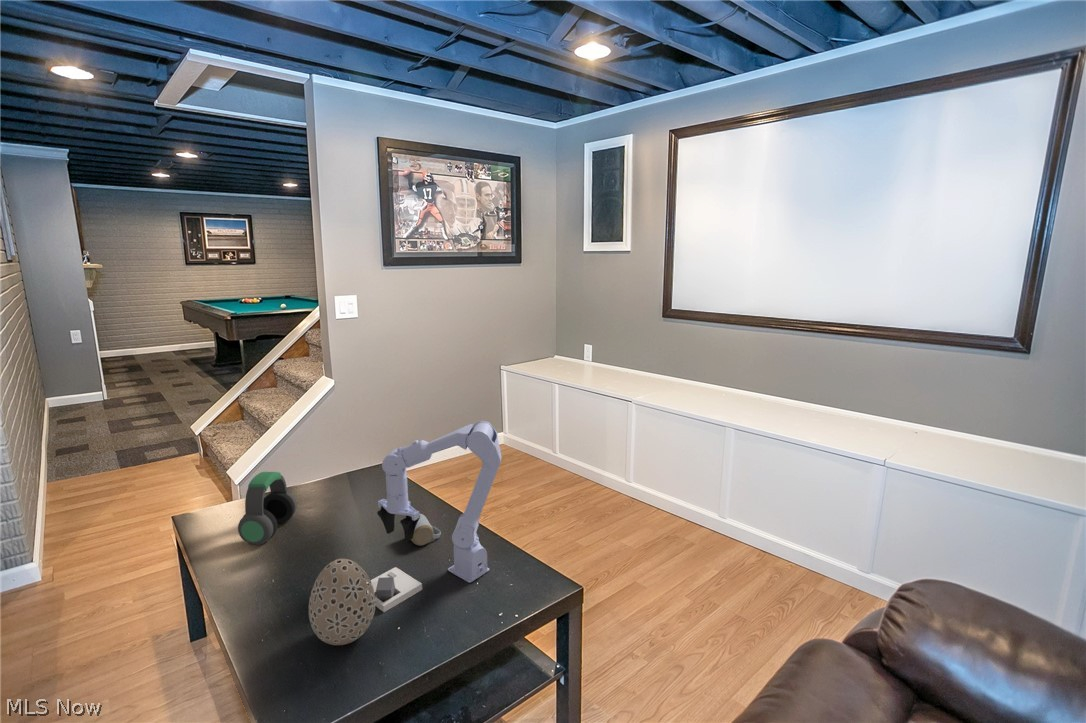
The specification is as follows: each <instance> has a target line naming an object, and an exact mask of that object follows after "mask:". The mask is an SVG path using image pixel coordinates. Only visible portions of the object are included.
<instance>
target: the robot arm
mask: <svg viewBox="0 0 1086 723" xmlns="http://www.w3.org/2000/svg"><path fill="white" fill-rule="evenodd" d="M498 436H499V435H498V432H497V430H496V429H495V427H494V426H493V425H492V424H491V423H490V422H489V421H485V420H480V421H477V422H476V423H470V424H467V425H465V426H462V427H460V428H458V429H456V430H453V431H451V432H449V433H447V434H445V435H442V436H440V437H438V438H435V439H433V440H430V441H426V440H424V439H422V440H418V439H415V440H413V441H412V443H411V444H408V445H406V446H403V447H402V446H399V447H397V448H394V449H391V451H389V453H387V455H386V456H385V457H384V459H383V460H382V463H381V467H382V470H383V472H385V486H386V499H385V498H382V499H379V500H378V501H377V507H378V508H379V510H378V511H377V515H378V517H379V519H380V520H381V521H382V524H383V526H384V529H385V532H386V534H388V535H389V534H391V533H393V532H395V517H396V515H400V516H405V517H404V518H402V519H401V520H400V521H399V522H400V524H401V526H402V529H403V534H404V539H405V540H404V541H405V542H410V541H411V539H413V534H414V530H415V527H416V524H417V522H418V520H419V519H420V515H419V514H420V511H419V510H416V509H415V508H414V507H413V506H412V505H411V501H410V500H409V490H408V489H409V488H408V476H407V475H408V474H407V469H408V468H410V467H414V466H416V465H420V464H422V463H425V462H427V461H429V460H430V459H431V458H432V456H433V454H435V453H440V452H441V451H442V452H443V451H445V450H448V449H450V448H455V447H460V448H462V449H464V450H467V448H468V450H470V452H471V453H473V454H474V455H476V456H477V457H478V458H479V459H480V461H481V462H482V465H481V468H480V471H479V473H478V476H477V477H476V478H477V479H476V481H475V483H474V486H473V489H472V492H471V495H470V497H469V500H468V501H467V505H466V506H465V507H466V508H465V510H464V512H463V513H462V514H461V515H460V516H459V517H458V518H457V522H456V525H455V528H454V531H453V532H452V535H451V541H452V543H453V565H452V566H450V567H447V571H448V572H450V573H452V574H453V575H455V576H457V577H458V578H460V579H462V580H463V581H465V582H467V583H469V584H470V583H472V582H474V581H475V580H476V579H477V580H478V578H480V577H481V576H483V575H485V574H486V573H488V572H489V571H490V568H489V567H488V551H487V550H486V548H484V547H483V545H481V543H480V540H479V535H478V533H477V531H478V528H479V526H480V520H479V519H480V516H481V514H482V511H483V509H484V507H485V503H486V501H487V498H488V496H489V493H490V491H491V488H492V485H493V484H494V480H495V479H496V476H497V474H498V470H499V468H500V465H501V464H502V463H501V462H502V459H503V458H502V452H501V448H500V443H499V437H498Z"/></svg>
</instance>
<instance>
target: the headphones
mask: <svg viewBox="0 0 1086 723" xmlns="http://www.w3.org/2000/svg"><path fill="white" fill-rule="evenodd" d="M247 487H248V488H247V490H246V494H245V498H244V499H245V501H244V505H245V507H244V509H245V510H244V512H245V513H244V515H243V516H242V517H241V519H240V520H239V522H238V524H237V531H238V534H239V537H240V538H241V539H242V540H243V542H245V543H248V544H250V545H256V546H257V545H261V544H264V543H265V542H267V541H269V540H271V538H273V537H274V536H275V534H276V532H277V531H278V525H279V524H284V523H286V522H288V521H290V520H291V519H292V517H293V516H294V514H295V513H296V510H297V508H298V506H297V505H298V504H297V503H298V502H297V500H296V499H295V497H294V495H293V494H291V493H290V492H289V491H288V487H287V483H286V480H285V477H284V476H283V475H282V473H281V472H280V471H261V472H259V473H257V474H256V475H255V476H254V477H253V478H252V479H251V480H250V482H249V483H248V486H247ZM268 488H269V489H270V490H269V491H270V493H269V494H267V495H266V492H267V490H268Z"/></svg>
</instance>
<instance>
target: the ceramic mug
mask: <svg viewBox="0 0 1086 723" xmlns="http://www.w3.org/2000/svg"><path fill="white" fill-rule="evenodd" d="M419 515H420V519H419V520H418V522H417V524H416V527H415V530H414V534H413V539H411V540H410V541H411V542H412V543H413V544H415V545H416V546H418V547H419V546H420V547H421V546H425V545H427V544H429V542H431V541H432V539H434V540H436V539H438V540H439V538H441V535H442V532H441V530H440V529H439V528H437V527H436V526H433V525H431V523H430V521H429V520H428V518H427V517H426V515H424V514H422V513H419Z"/></svg>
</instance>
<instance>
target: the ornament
mask: <svg viewBox="0 0 1086 723" xmlns="http://www.w3.org/2000/svg"><path fill="white" fill-rule="evenodd" d="M370 580H371V579H370V577H369V575H368V574H367V572H366V571H365V569H364V568H363V567H362V566H360V564H359V563H357V562H356V561H355V560H354V561H353V560H351V559H348V558H337V559H334V560H332V561H331V562H329V563H328V564H327V565H325V567H324V568H323V569H322V570H321V571H320V572H319V574H318V575H317V577H316V579H315V581H314V584H313V586H312V589H311V591H310V594H309V595H310V596H309V601H308V619H309V623H310V626H311V628H312V629H311V630H312V631H313V632H314V634H315V635H316V636H317V638H318V639H319V640H320V641H322V642H324V643H326V644H328V645H331V646H344V645H348V644H351V643H353V642H355V641H356V640H358V639H360V637H361V636H363V635H364V634H365V633H366V632H367V630H369V627H370V626H371V623H372V622H373V618H374V616H375V612H376V606H375V603H374V604H373V601H374V602H376V601H375V592H374V589H373V586H372V583H371V581H370ZM367 582H368V583H369V584H367ZM347 588H348V589H347ZM367 590H368V592H369V593H367ZM371 594H372V596H371Z"/></svg>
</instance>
